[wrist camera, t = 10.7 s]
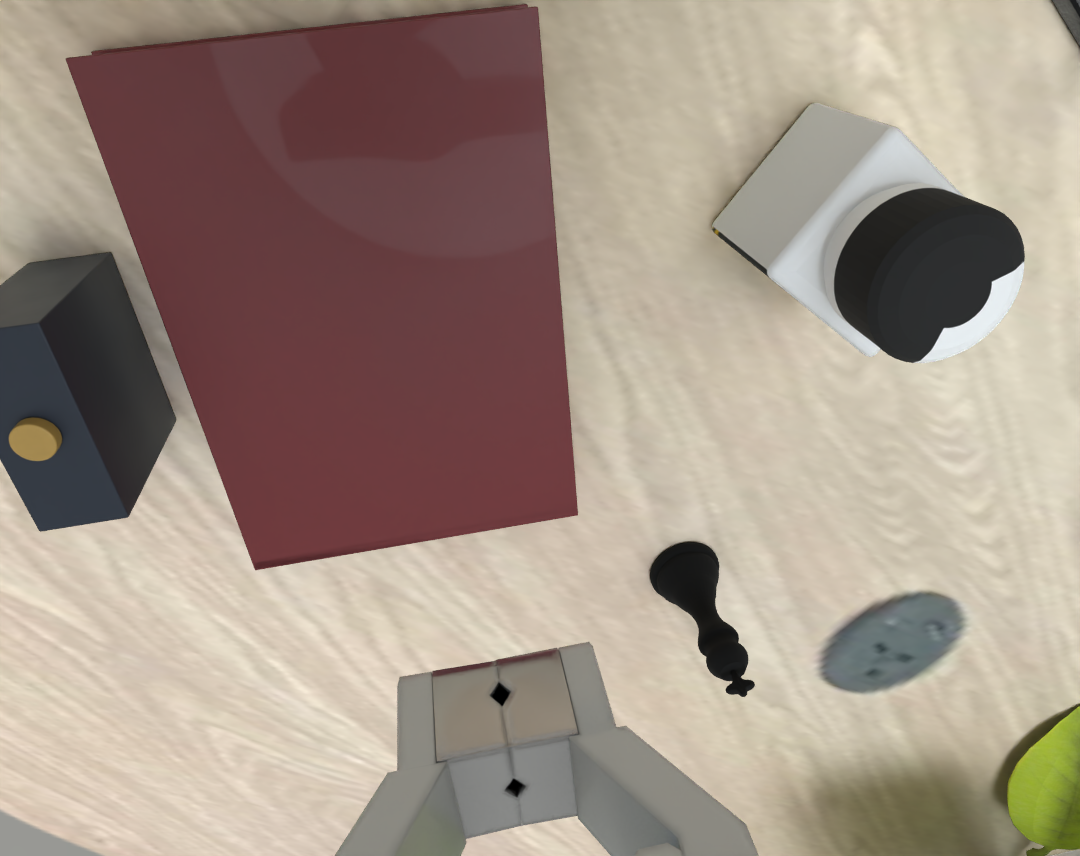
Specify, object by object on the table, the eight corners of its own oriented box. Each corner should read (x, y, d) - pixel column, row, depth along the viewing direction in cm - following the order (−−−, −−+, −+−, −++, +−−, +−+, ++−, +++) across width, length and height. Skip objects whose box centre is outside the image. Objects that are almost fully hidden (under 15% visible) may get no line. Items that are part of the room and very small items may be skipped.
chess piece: (719, 585, 50) (785, 712, 41) (653, 602, 50) (706, 733, 41) (715, 534, 47) (784, 656, 39) (645, 551, 47) (700, 678, 39)
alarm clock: (69, 247, 35) (-137, 323, 28) (184, 259, 32) (-18, 346, 25) (137, 411, 39) (-28, 508, 33) (244, 436, 36) (85, 547, 30)
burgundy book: (93, 51, 30) (64, 58, 27) (526, 3, 31) (538, 6, 29) (263, 534, 42) (254, 570, 40) (567, 483, 44) (578, 515, 41)
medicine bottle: (706, 226, 37) (823, 321, 27) (811, 97, 35) (982, 149, 25) (801, 303, 40) (939, 415, 30) (903, 190, 38) (1090, 269, 28)
